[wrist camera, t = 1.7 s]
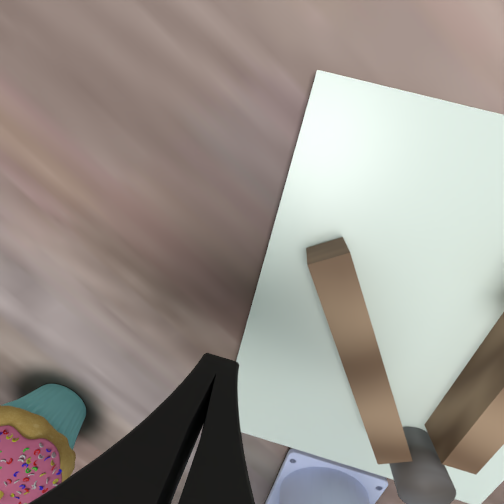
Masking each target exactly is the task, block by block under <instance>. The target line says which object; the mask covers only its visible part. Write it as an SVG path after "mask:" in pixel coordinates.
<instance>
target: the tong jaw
mask: <svg viewBox="0 0 504 504" xmlns="http://www.w3.org/2000/svg"><path fill="white" fill-rule="evenodd" d="M306 254H307V265H308V268H309V271H310V274H311V277H312V280H313V282H314V285H315V288H316V291H317V294H318V297H319V299H320V302H321V305H322V308H323V311H324V314H325V316H326V319H327V322H328V325H329V328H330V331H331V333H332V336H333V339H334V342H335V345H336V347H337V350H338V353H339V356H340V359H341V362H342V364H343V367H344V370H345V373H346V376H347V379H348V381H349V384H350V387H351V390H352V393H353V396H354V398H355V401H356V404H357V407H358V410H359V413H360V415H361V418H362V421H363V424H364V427H365V430H366V432H367V435H368V438H369V441H370V444H371V447H372V449H373V452H374V455H375V458H376V461H377V464H389V463H400V462H411V461H412V457H411V454H410V451H409V447H408V444H407V441H406V437H405V434H404V431H403V427H402V424H401V421H400V417H399V414H398V411H397V407H396V404H395V400H394V397H393V394H392V390H391V387H390V384H389V380H388V377H387V374H386V370H385V367H384V364H383V360H382V357H381V354H380V350H379V347H378V344H377V340H376V337H375V334H374V330H373V327H372V324H371V320H370V317H369V314H368V310H367V307H366V304H365V300H364V297H363V294H362V290H361V287H360V283H359V280H358V277H357V273H356V270H355V267H354V263H353V260H352V257H351V253H350V251H349V249H348V247H347V245H346V243H345V240H344V238H343V237H341V238H337V239H334V240H331V241H328V242H324V243H321V244H318V245H315V246H311V247H308V248H306Z"/></svg>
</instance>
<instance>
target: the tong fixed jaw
mask: <svg viewBox="0 0 504 504" xmlns="http://www.w3.org/2000/svg"><path fill="white" fill-rule="evenodd" d="M425 428H426V430H427V432H426V431H425V430H423V429H420V428H417V427H411V426H405V427H403V431H404V434H405V437H406V441H407V444H408V447H409V451H410V454H411V457H412V461H411V462H400V463H389V465H390V468H391V472H392V475H393V479H394V482H395V486H396V489H397V493H398V496H399V497H400V499H401V500H402V501H403V502H405V503H406V504H450V503H451V502H452V501H453V500H454V499H455V497H456V489H455V487H454V485H453V482H452V480H451V478H450V476H449V474H448V471H447V469H446V467H445V465H446V466H449V467H453V468H456V469H459V470H462V471H466V472H469V473H472V474H475V475H476V474H477V473H478V472H479V471H480V470H481V469H482V468H483V467H484V466H485V464H486V463H487V462H488V461H489V460H490V459H491V458H492V457H493V456H494V455H495V453H496V452H497V451H498V450H499V449H500V448H501V447H502V446H503V445H504V312H503V314H502V315H501V316H500V318H499V319H498V321H497V322H496V324H495V325H494V326H493V328H492V329H491V331H490V332H489V333H488V335H487V336H486V338H485V339H484V341H483V342H482V343H481V345H480V346H479V348H478V349H477V351H476V352H475V353H474V355H473V356H472V358H471V359H470V361H469V362H468V363H467V365H466V366H465V368H464V369H463V370H462V372H461V373H460V375H459V376H458V378H457V379H456V380H455V382H454V383H453V385H452V386H451V388H450V389H449V390H448V392H447V393H446V395H445V396H444V398H443V399H442V400H441V402H440V403H439V405H438V406H437V407H436V409H435V410H434V412H433V413H432V415H431V416H430V417H429V419H428V420H427V422H426V423H425Z"/></svg>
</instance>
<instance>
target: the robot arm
mask: <svg viewBox="0 0 504 504" xmlns="http://www.w3.org/2000/svg"><path fill="white" fill-rule="evenodd" d="M238 370H239V364H238V362H236V361H232V360H229V359H226V358H222V357H219V356H216V355H212V354H209V353H206V354H204V355H203V357H202V358H201V360H200V361H199V362H198V364H197V365H196V366H195V368H194V369H193V370H192V371H191V373H190V374H189V375H188V376H187V377H186V379H185V380H184V381H183V382H182V383H181V384H180V385H179V386H178V387H177V388H176V389H175V391H174V392H173V393H172V394H171V395H170V396H169V397H168V398H167V399H166V400H165V401H164V402H163V403H162V404H161V405H160V406H159V407H158V408H157V409H156V410H154V411H153V412H152V413H151V414H150V415H149V416H148V417H147V418H146V419H145V420H144V421H142V422H141V423H140V424H139V425H138V426H137V427H136V428H134V429H133V430H132V431H131V432H130V433H128V434H127V435H126V436H125V437H124V438H122V439H121V440H120V441H118V442H117V443H116V444H115V445H113V446H112V447H111V448H109V449H108V450H107V451H106V452H104V453H103V454H102V455H100V456H99V457H98V458H96V459H95V460H93V461H92V462H91V463H89V464H88V465H86V466H85V467H83V468H82V469H81V470H79V471H78V472H76V473H75V474H73V475H72V476H70V477H69V478H67V479H66V480H65V481H63V482H62V483H60V484H59V485H57V486H56V487H54V488H53V489H51V490H49V491H48V492H46V493H45V494H43V495H41V496H40V497H38V498H36V499H35V500H33V501H32V502H30V503H28V504H171V502H172V499H173V496H174V494H175V491H176V488H177V486H178V483H179V481H180V479H181V476H182V474H183V472H184V469H185V467H186V464H187V462H188V460H189V457H190V455H191V452H192V450H193V448H194V445H195V443H196V440H197V438H198V436H199V433H200V431H201V428H202V426H203V429H202V433H201V438H200V442H199V445H198V448H197V451H196V453H195V456H194V459H193V462H192V465H191V468H190V471H189V474H188V477H187V480H186V483H185V486H184V489H183V492H182V494H181V497H180V500H179V503H178V504H255V502H254V498H253V494H252V490H251V485H250V481H249V476H248V471H247V466H246V461H245V456H244V450H243V443H242V436H241V429H240V420H239V408H238ZM203 424H204V425H203ZM387 486H388V482H387V478H386V477H383V476H380V475H377V474H374V473H370V472H367V471H364V470H361V469H358V468H354V467H351V466H348V465H345V464H342V463H338V462H335V461H332V460H329V459H326V458H323V457H319V456H316V455H313V454H310V453H307V452H303V451H300V450H297V449H294V448H292V449H290V450H289V451H288V453H287V456H286V458H285V460H284V462H283V465H282V467H281V469H280V471H279V474H278V476H277V478H276V480H275V482H274V485H273V487H272V489H271V491H270V494H269V496H268V498H267V500H266V503H265V504H375V503H376V501H377V500H378V499H379V497H380V496H381V494H382V493H383V492H384V490H385V489H386V487H387Z"/></svg>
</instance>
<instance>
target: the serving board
mask: <svg viewBox="0 0 504 504" xmlns="http://www.w3.org/2000/svg"><path fill="white" fill-rule="evenodd" d="M341 237H343V238H344V240H345V243H346V245H347V247H348V249H349V251H350V253H351V257H352V260H353V263H354V267H355V270H356V273H357V277H358V280H359V283H360V287H361V290H362V294H363V297H364V300H365V304H366V307H367V310H368V314H369V317H370V320H371V324H372V327H373V330H374V334H375V337H376V340H377V344H378V347H379V350H380V354H381V357H382V360H383V364H384V367H385V370H386V374H387V377H388V380H389V384H390V387H391V390H392V394H393V397H394V400H395V404H396V407H397V411H398V414H399V417H400V421H401V424H402V427H405V426H411V427H417V428H420V429H423V430H425V431H426V432H427V430H426V428H425V423H426V422H427V420H428V419H429V417H430V416H431V415H432V413H433V412H434V410H435V409H436V407H437V406H438V405H439V403H440V402H441V400H442V399H443V398H444V396H445V395H446V393H447V392H448V390H449V389H450V388H451V386H452V385H453V383H454V382H455V380H456V379H457V378H458V376H459V375H460V373H461V372H462V370H463V369H464V368H465V366H466V365H467V363H468V362H469V361H470V359H471V358H472V356H473V355H474V353H475V352H476V351H477V349H478V348H479V346H480V345H481V343H482V342H483V341H484V339H485V338H486V336H487V335H488V333H489V332H490V331H491V329H492V328H493V326H494V325H495V324H496V322H497V321H498V319H499V318H500V316H501V315H502V314H503V312H504V115H502V114H498V113H494V112H490V111H486V110H481V109H477V108H473V107H469V106H465V105H461V104H457V103H453V102H448V101H444V100H440V99H436V98H432V97H428V96H424V95H419V94H415V93H411V92H407V91H403V90H399V89H395V88H390V87H386V86H382V85H378V84H374V83H370V82H366V81H361V80H357V79H353V78H349V77H345V76H341V75H337V74H333V73H328V72H324V71H320V70H317V72H316V76H315V80H314V83H313V87H312V90H311V94H310V97H309V101H308V105H307V108H306V112H305V115H304V119H303V123H302V126H301V130H300V133H299V137H298V141H297V144H296V148H295V151H294V155H293V159H292V162H291V166H290V169H289V173H288V177H287V180H286V184H285V187H284V191H283V195H282V198H281V202H280V205H279V209H278V213H277V216H276V220H275V223H274V227H273V231H272V234H271V238H270V241H269V245H268V249H267V252H266V256H265V259H264V263H263V266H262V270H261V274H260V277H259V281H258V284H257V288H256V292H255V295H254V299H253V302H252V306H251V310H250V313H249V317H248V320H247V324H246V328H245V331H244V335H243V338H242V342H241V346H240V349H239V353H238V356H237V360H236V362H238V364H239V370H238V408H239V420H240V429H241V432H243V433H246V434H249V435H252V436H255V437H259V438H262V439H265V440H268V441H271V442H275V443H278V444H281V445H284V446H287V447H291V448H294V449H297V450H300V451H303V452H307V453H310V454H313V455H316V456H319V457H323V458H326V459H329V460H332V461H335V462H338V463H342V464H345V465H348V466H351V467H354V468H358V469H361V470H364V471H367V472H370V473H374V474H377V475H380V476H383V477H386V478H390V479H393V475H392V472H391V468H390V465H389V464H377V461H376V458H375V455H374V452H373V449H372V447H371V444H370V441H369V438H368V435H367V432H366V430H365V427H364V424H363V421H362V418H361V415H360V413H359V410H358V407H357V404H356V401H355V398H354V396H353V393H352V390H351V387H350V384H349V381H348V379H347V376H346V373H345V370H344V367H343V364H342V362H341V359H340V356H339V353H338V350H337V347H336V345H335V342H334V339H333V336H332V333H331V331H330V328H329V325H328V322H327V319H326V316H325V314H324V311H323V308H322V305H321V302H320V299H319V297H318V294H317V291H316V288H315V285H314V282H313V280H312V277H311V274H310V271H309V268H308V265H307V254H306V248H308V247H311V246H315V245H318V244H321V243H324V242H328V241H331V240H334V239H337V238H341ZM445 467H446V469H447V471H448V474H449V476H450V478H451V480H452V482H453V485H454V487H455V489H456V497H455V499H457V500H460V501H463V502H466V503H469V504H481V503H482V502H483V501H484V500H485V499H486V498H487V497H488V496H489V495H490V494H491V493H492V492H493V491H494V490H495V489H496V488H497V487H498V486H499V485H500V484H501V483H502V482H503V481H504V445H503V446H502V447H501V448H500V449H499V450H498V451H497V452H496V453H495V455H494V456H493V457H492V458H491V459H490V460H489V461H488V462H487V463H486V464H485V466H484V467H483V468H482V469H481V470H480V471H479V472H478V473H477V474H476V475H475V474H472V473H469V472H466V471H462V470H459V469H456V468H453V467H449V466H446V465H445ZM393 480H394V479H393Z"/></svg>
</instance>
